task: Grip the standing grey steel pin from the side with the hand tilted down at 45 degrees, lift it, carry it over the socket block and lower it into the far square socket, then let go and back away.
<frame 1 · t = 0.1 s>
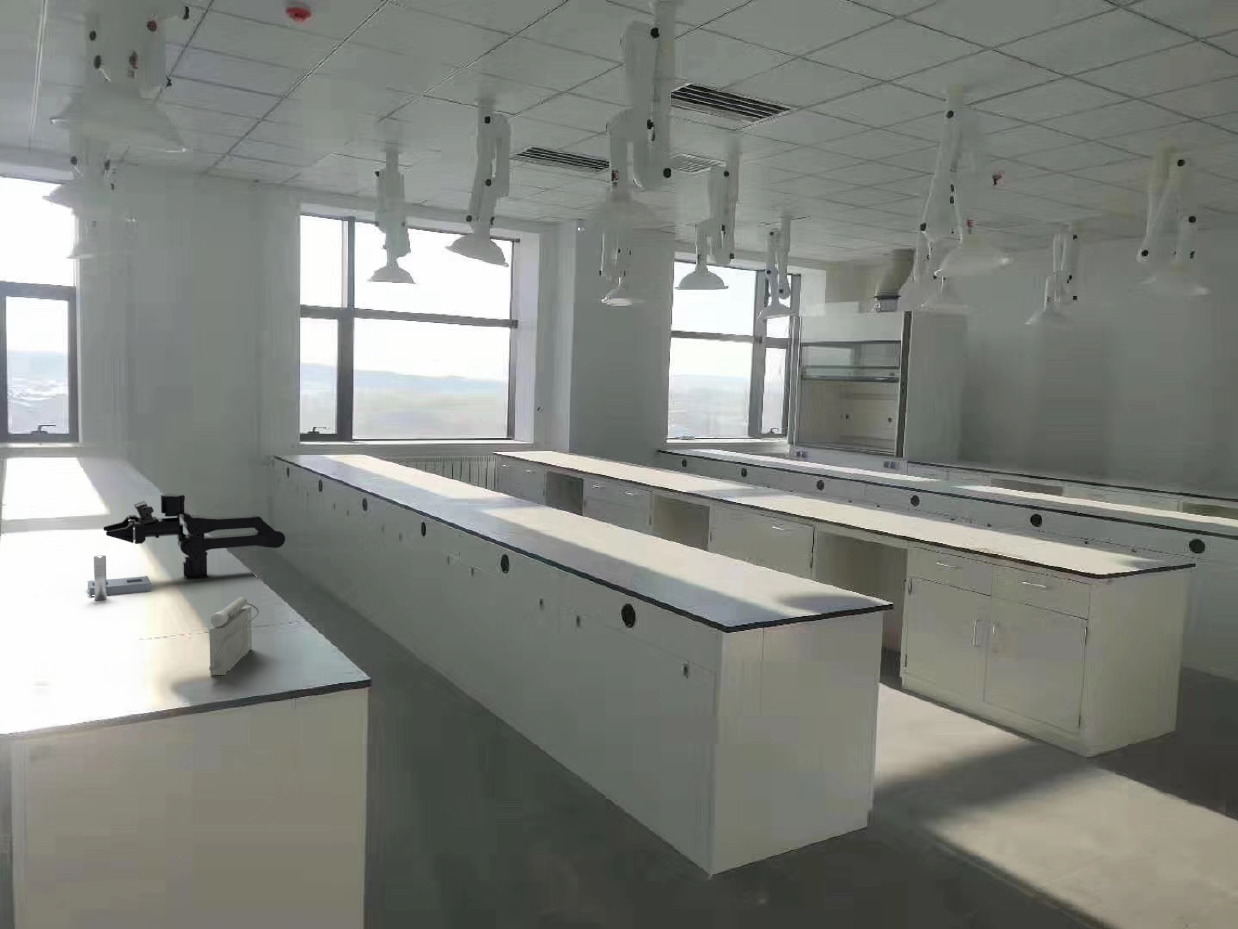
hand: (104, 531, 278), 17 cm above the countertop, tool horizontal, fingers open, 9 cm apart
geiger counter: (230, 666, 209), on the countertop
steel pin: (100, 599, 262), on the countertop
socket block: (119, 590, 273), on the countertop
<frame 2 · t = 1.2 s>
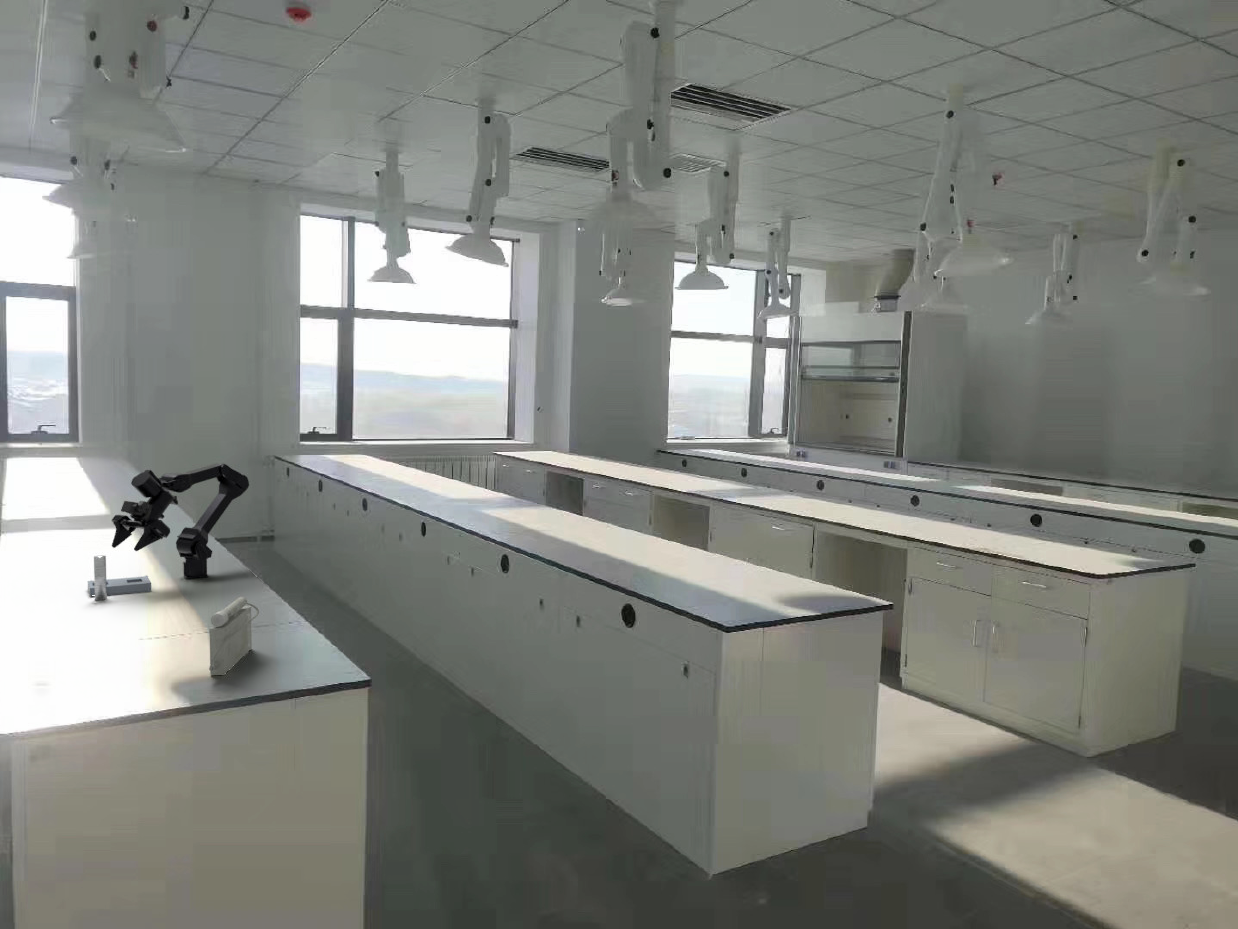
hand: (123, 548, 268), 13 cm above the countertop, tool tilted 45°, fingers open, 9 cm apart
nothing on the countertop moved.
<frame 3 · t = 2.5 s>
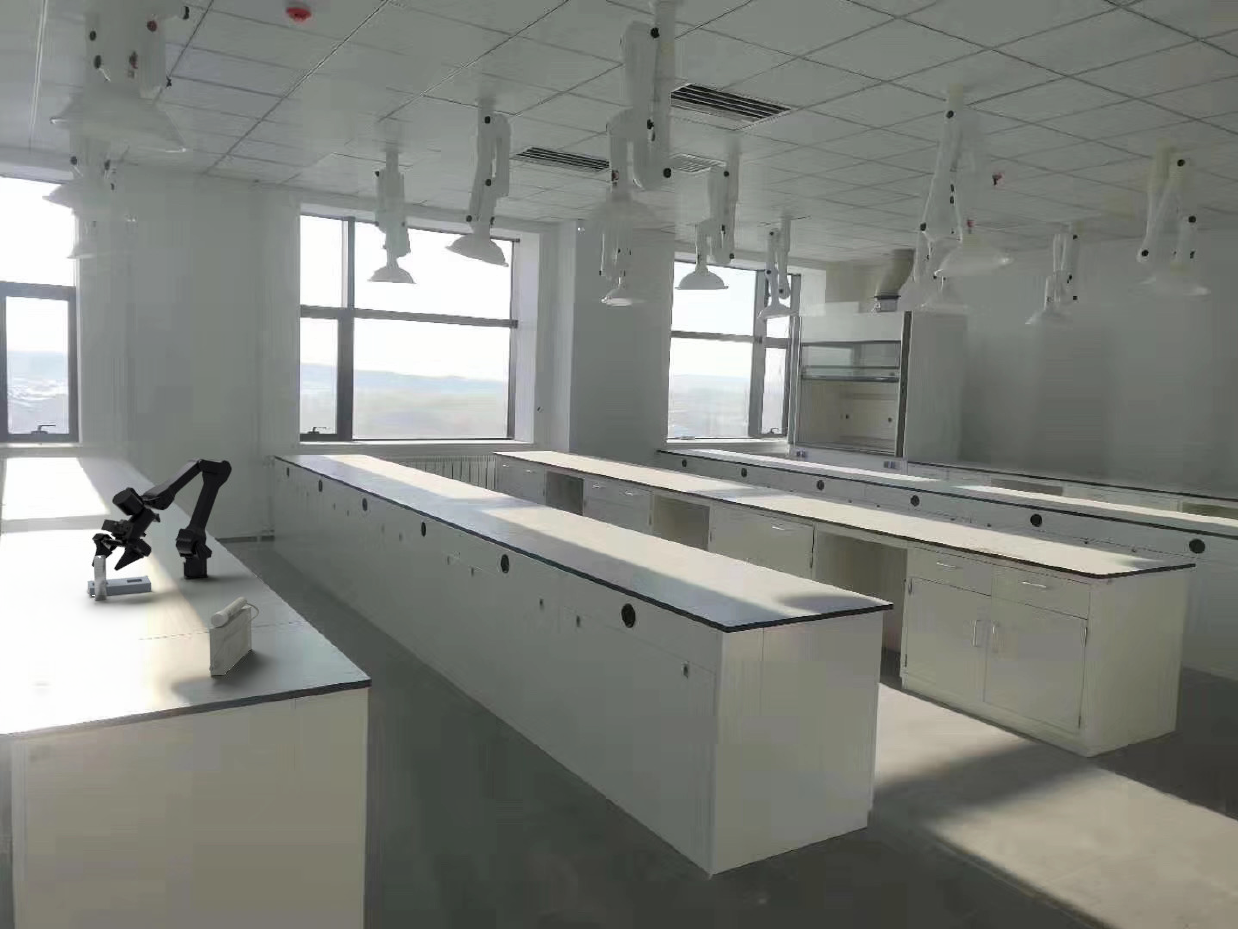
hand: (104, 568, 263), 9 cm above the countertop, tool tilted 45°, fingers open, 9 cm apart
nothing on the countertop moved.
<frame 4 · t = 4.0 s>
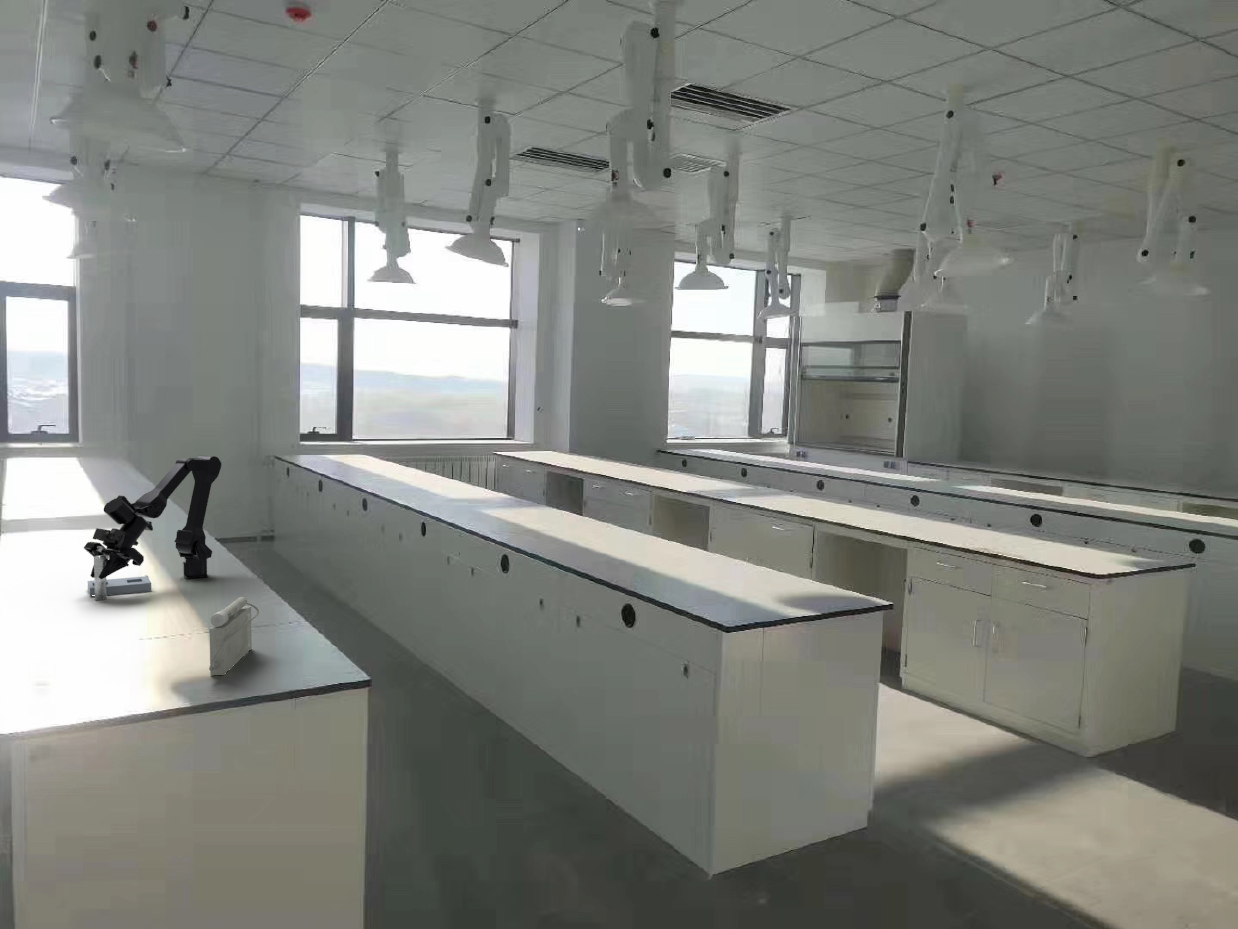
hand: (95, 577, 260), 7 cm above the countertop, tool tilted 45°, fingers closed on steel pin, 3 cm apart
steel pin: (100, 599, 262), on the countertop, touching gripper
everything else where it was.
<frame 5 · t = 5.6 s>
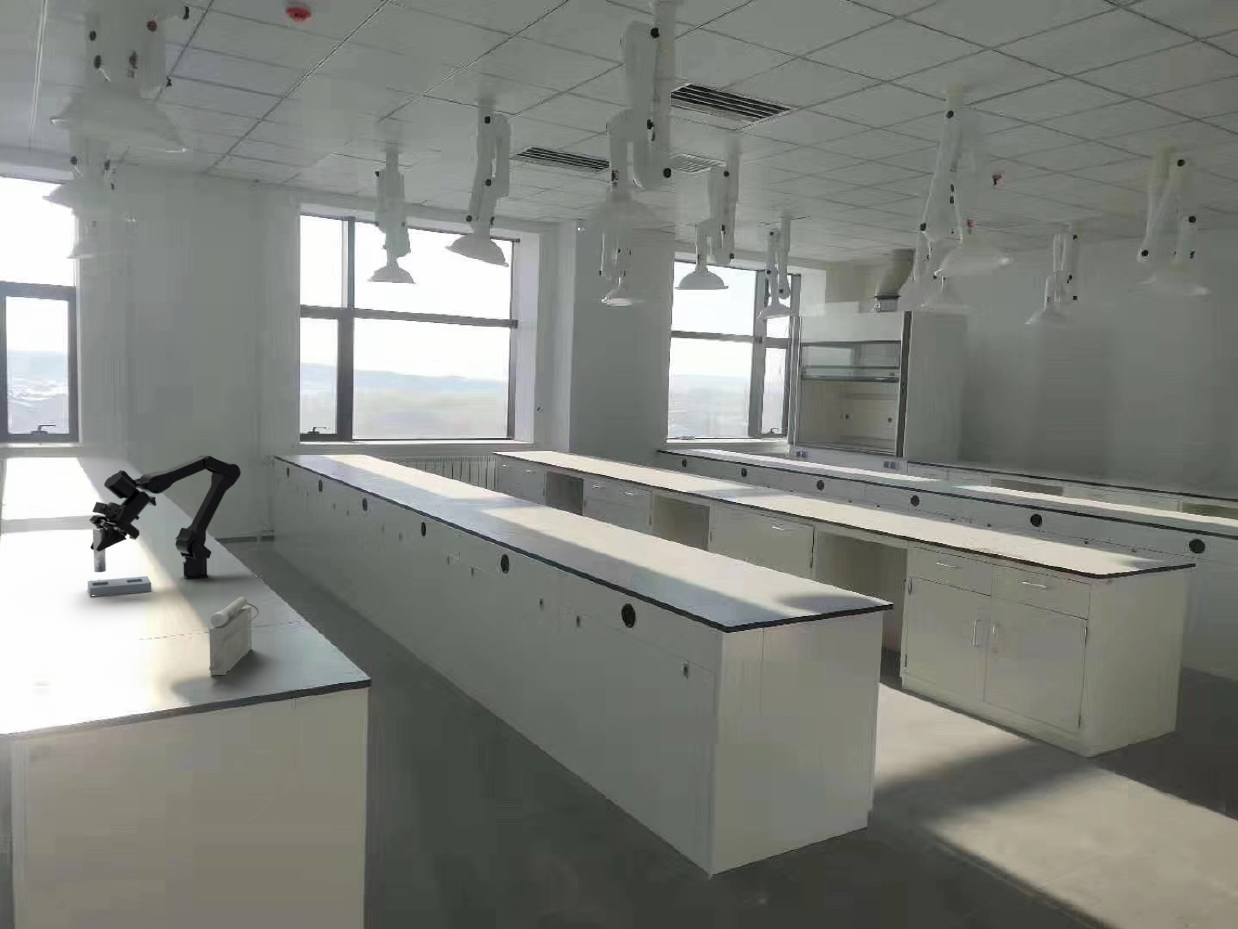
hand: (94, 549, 266), 13 cm above the countertop, tool tilted 45°, fingers closed on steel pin, 3 cm apart
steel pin: (100, 571, 268), point 7 cm above the countertop, touching gripper
everything else where it was.
when the fingers open (8 cm above the countertop, at t = 7.3 s): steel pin drops 1 cm, resting in socket block.
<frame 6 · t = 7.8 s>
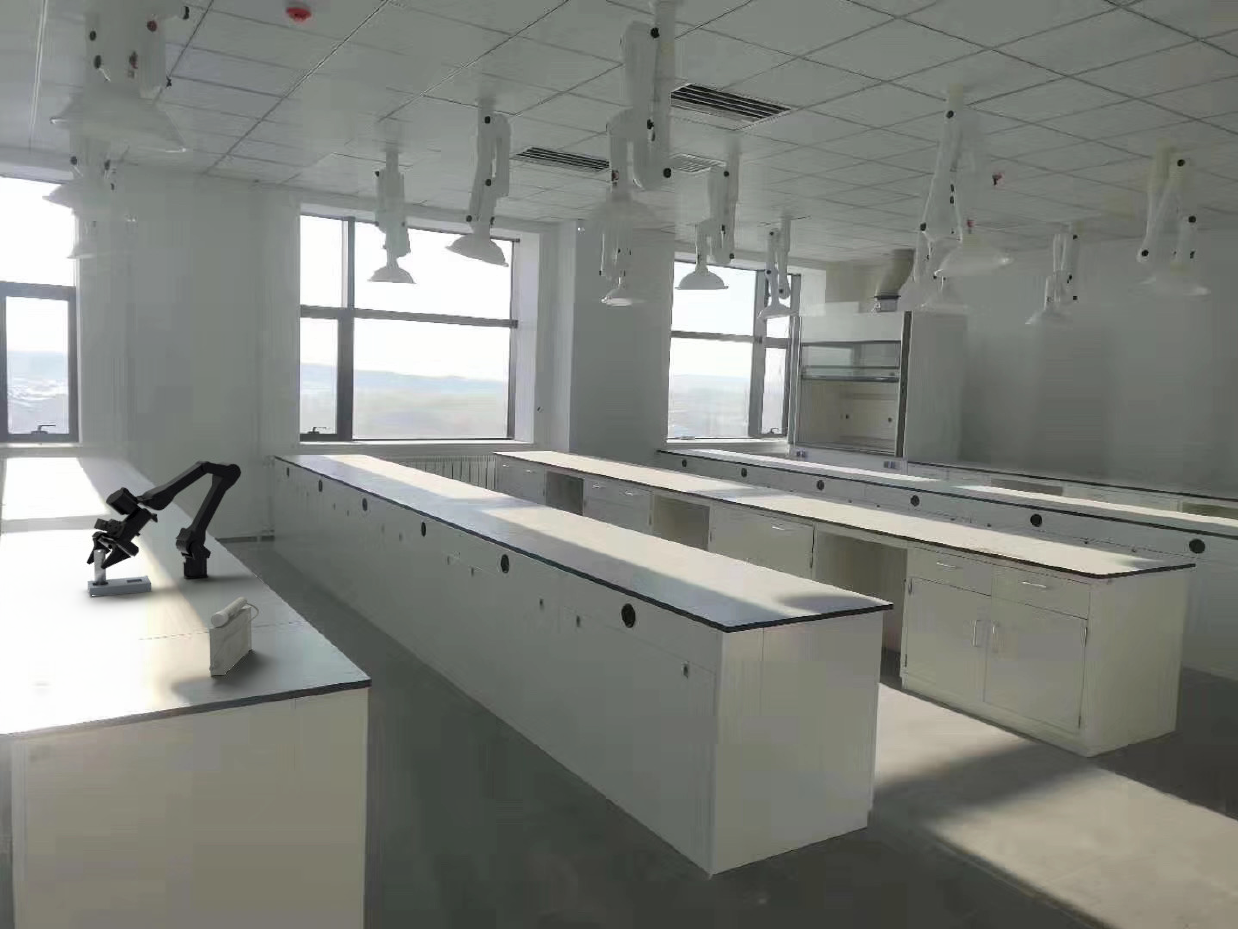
hand: (94, 566, 268), 8 cm above the countertop, tool tilted 45°, fingers open, 9 cm apart
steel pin: (100, 592, 270), resting in socket block
everything else where it was.
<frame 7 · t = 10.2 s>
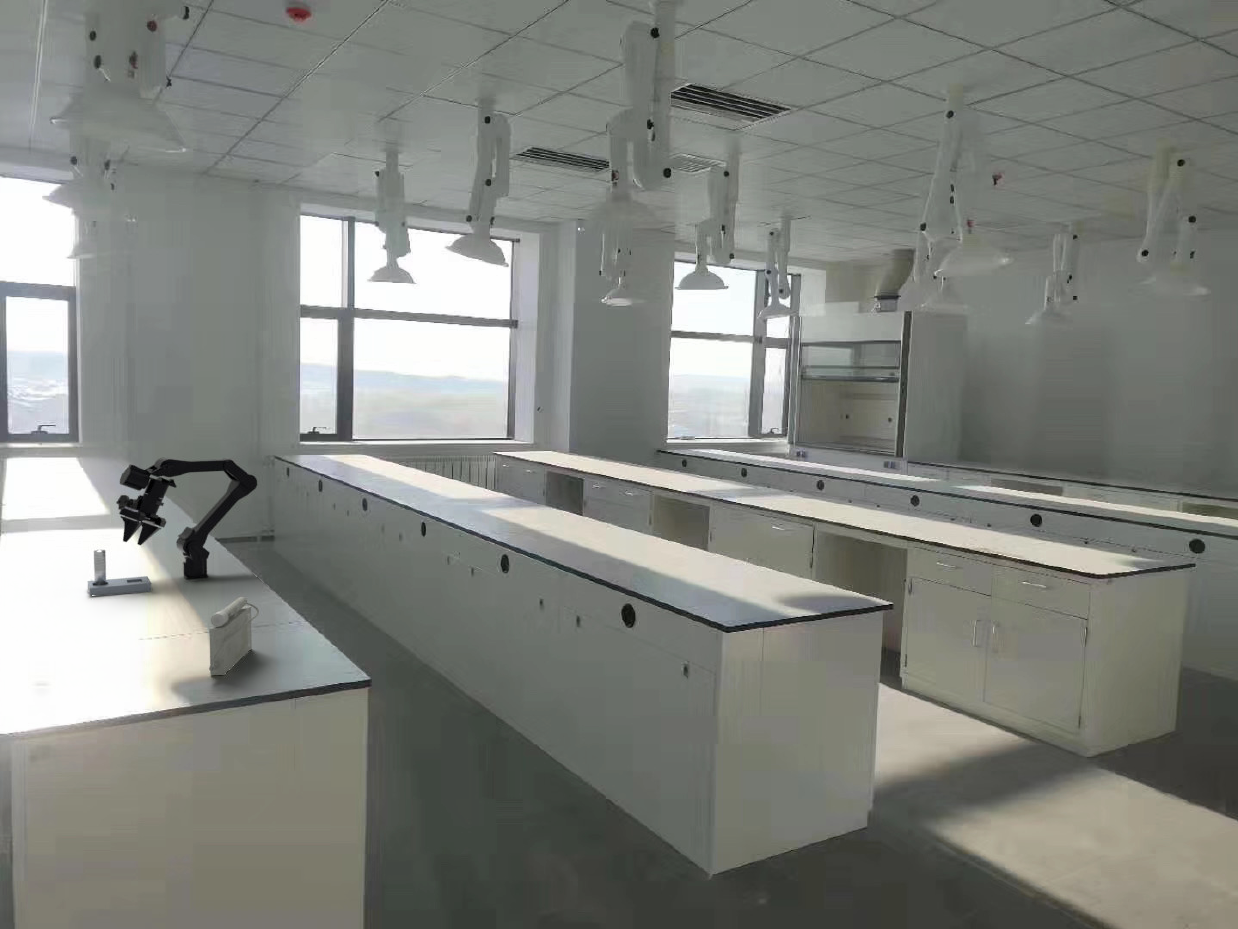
hand: (131, 543, 279), 13 cm above the countertop, tool tilted 25°, fingers open, 9 cm apart
nothing on the countertop moved.
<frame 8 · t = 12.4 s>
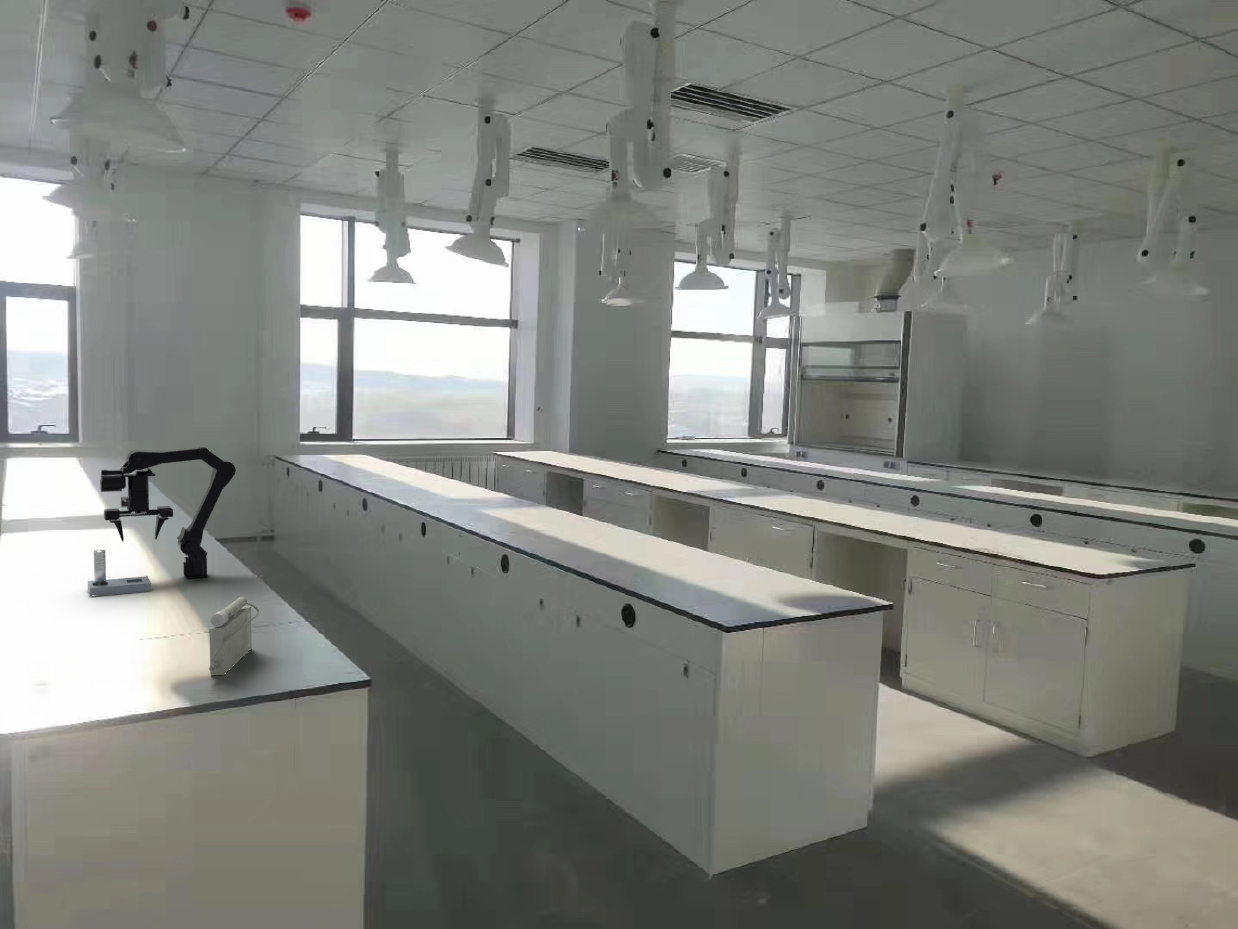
hand: (139, 540, 283), 13 cm above the countertop, tool pointing down, fingers open, 9 cm apart
nothing on the countertop moved.
at the end: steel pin 0.0 cm from the target spot on the socket block, point 0.0 cm above the socket block's base; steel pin tilted 0°; the gripper is holding nothing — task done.
